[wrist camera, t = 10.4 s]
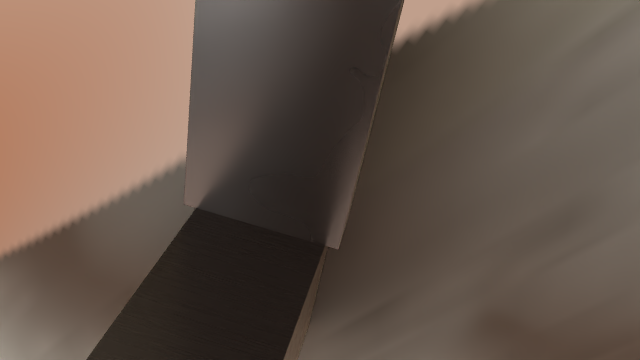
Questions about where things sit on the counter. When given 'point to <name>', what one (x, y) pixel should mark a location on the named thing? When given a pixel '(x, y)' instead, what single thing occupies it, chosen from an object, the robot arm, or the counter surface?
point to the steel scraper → (261, 177)
